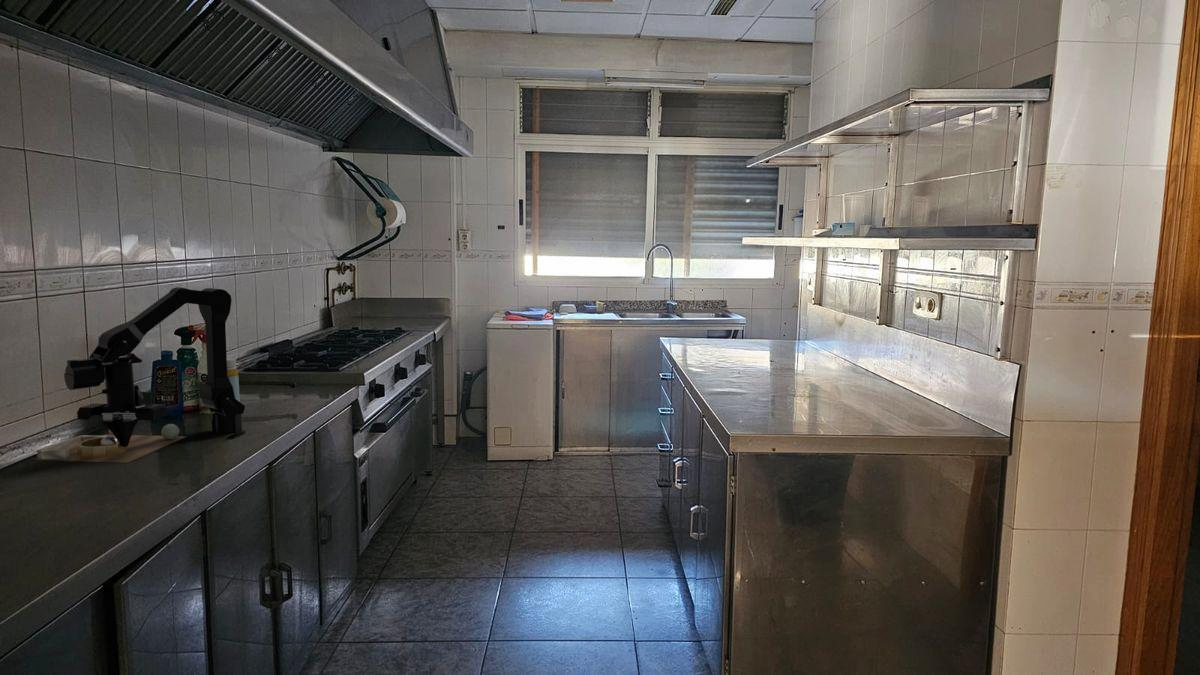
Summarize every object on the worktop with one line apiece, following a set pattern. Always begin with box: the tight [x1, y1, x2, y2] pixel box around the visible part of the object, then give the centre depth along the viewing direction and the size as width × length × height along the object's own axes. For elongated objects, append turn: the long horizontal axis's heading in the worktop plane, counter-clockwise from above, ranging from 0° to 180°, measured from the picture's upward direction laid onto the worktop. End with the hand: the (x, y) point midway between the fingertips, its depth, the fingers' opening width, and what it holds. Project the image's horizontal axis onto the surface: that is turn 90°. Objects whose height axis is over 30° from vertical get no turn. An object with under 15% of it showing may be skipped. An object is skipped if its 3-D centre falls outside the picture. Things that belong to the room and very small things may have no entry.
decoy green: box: [160, 423, 180, 440], centre depth 188 cm, size 4×4×4 cm
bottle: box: [227, 357, 241, 403], centre depth 231 cm, size 7×7×15 cm
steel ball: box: [100, 435, 119, 446], centre depth 177 cm, size 4×4×4 cm
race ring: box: [76, 437, 128, 458], centre depth 177 cm, size 10×10×2 cm
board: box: [34, 433, 188, 463], centre depth 181 cm, size 23×22×3 cm
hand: (125, 446), depth 177 cm, fingers closed
